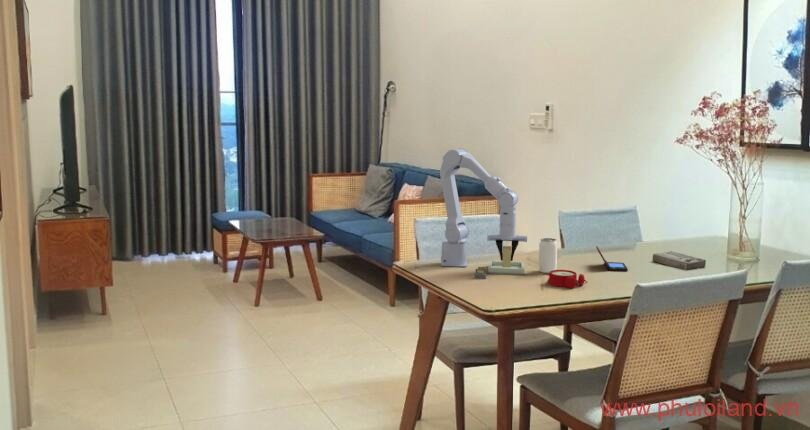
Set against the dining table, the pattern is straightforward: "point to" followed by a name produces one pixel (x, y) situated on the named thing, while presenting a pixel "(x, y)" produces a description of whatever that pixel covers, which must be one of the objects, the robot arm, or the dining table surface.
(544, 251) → the can
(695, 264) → the box
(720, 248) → the dining table surface
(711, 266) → the dining table surface
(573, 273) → the alarm clock
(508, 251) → the carton
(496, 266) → the tray
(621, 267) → the handheld game console
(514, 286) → the dining table surface
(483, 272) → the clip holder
